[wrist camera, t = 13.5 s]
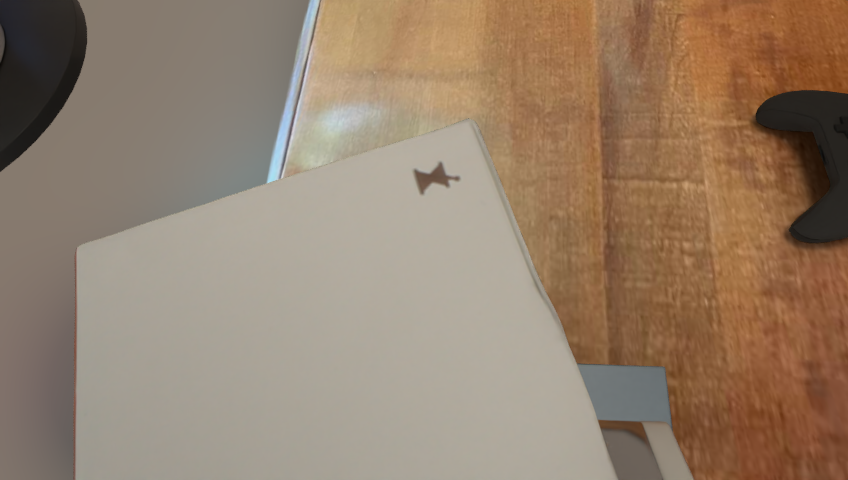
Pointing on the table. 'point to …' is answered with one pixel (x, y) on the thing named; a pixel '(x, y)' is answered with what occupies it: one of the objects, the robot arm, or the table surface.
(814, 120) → the game controller
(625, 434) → the robot arm
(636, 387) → the gray box with lid
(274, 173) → the table surface
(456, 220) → the small box
